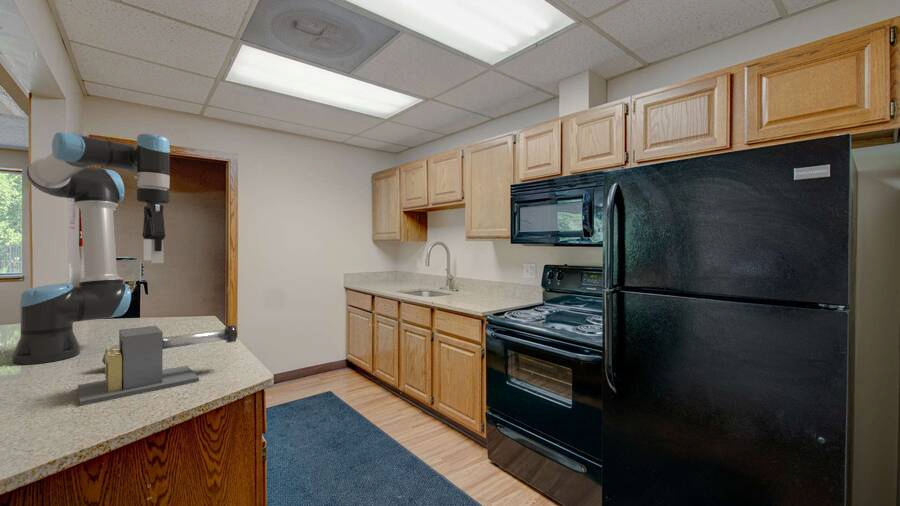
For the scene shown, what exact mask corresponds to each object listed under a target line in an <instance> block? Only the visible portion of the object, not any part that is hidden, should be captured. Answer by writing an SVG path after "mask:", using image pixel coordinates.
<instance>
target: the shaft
mask: <svg viewBox="0 0 900 506" xmlns="http://www.w3.org/2000/svg"><path fill="white" fill-rule="evenodd" d="M237 337H238V331H237V327H236V325H235V324H233V325H226V326H225V328H224V329H219V330H210V331H202V332H195V333H187V334H180V335H171V336H165V337H164V336H163V350H166V349H173V348H179V347H187V346H193V345H194V346H195V345H201V344H206V343H214V342H221V341H225V342H226V343H227V344H230V343H231V344H232V343H235V342H237Z"/></svg>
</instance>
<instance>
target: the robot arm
mask: <svg viewBox="0 0 900 506" xmlns="http://www.w3.org/2000/svg"><path fill="white" fill-rule="evenodd" d="M135 143H136V145H135V144H134V145H133V144H129V143H124V142H117V141H111V140H106V139H102V138H96V137H93V136H92V137H91V136H87V135H82V134H81V135H80V134H77V133H70V132H61V131H60V132H56V133H55V134H54V136H53V138H52V142H51V150H52V151H51V153H50V154H48V155H47V156H46V157H44V158H39V159H38V158H37V159H36V160H34V161H33V162H31V163H30V164H29V165H28V167H27V168H26V178H27V180H28V182H30V184H31V185H32V186H33V187H35V188H36V189H37V190H39V191H41V192H43V193H44V194H47V195H50V196H54V197H57V198H63V199H64V198H66V199H73V203H74V205H75V207H77V208H78V209H80V219H81V235H82V236H81V237H82V239H81V241H82V252H83V253H82V254H83V256H82V257H83V273H84V277H83V278H81V279H80V280H79V281H78V286H75V287H74V285H73V284H72V283H55V284H54V283H53V284H46V285H41V286H36V287H35V286H34V287H31V288H27V289H26V290H24V291H23V292H22V293H21V295H20V301H19V302H20V304H19V307H20V337H19V340H18V342H17V344H16V346H15V349H14V350H13V353H12V358H11V360H12V363H13V364H16V365H35V364H43V363H44V364H45V363H46V364H47V363H50V362H56V361H61V360H67V359H70V358H73V357H76V356H77V355H79V354H80V353H81V346H80V344H79V341H78V339H77V337H76V335H75V333H74V330H73V328H74V327H73V326H74V323H76V322H86V321H93V320H102V319H110V318H115V317H121V316H123V315H125V314H126V312H127V311H128V309H129V307H130V304H131V301H132V290H131V287H130V285H129V284H128V283H127V284H126V283H124V278H123V277H121V276H120V275H118V269H117V268H118V267H117V255H116V254H117V253H116V236H115V223H114V222H115V221H114V210H115V209H116V208H118V206H119V203H121V202H122V201H123V200H124V198H125V185H124V181H123V179H122V177H121V176H120V174H119V173H118V172H116V171H115V170H113V169H112V170H111V169H106V168H114V169H118V170H119V169H120V170H124V171H125V170H126V171H128V172H131V173H137V174H136V175H134V178H133V179H135V180H136V186H137V187H139V188H137V189H136V201H137V202H139V203H146V206H144V207H143V224H142V225H143V227H142V238H143V261H150V263H151V264H164V262H165V261H164V256H165V255H164V254H165V253H164V248H165V247H164V243H165V242H164V239H165V238H166V231H165V221H164V220H165V219H164V205H165V204H169V203H170V192H169V189H170V185H171V183H170V182H171V180H170V179H171V177H170V160H171V159H170V158H171V157H170V155H171V154H170V153H171V150H170V148H171V147H170V141H169V139H168V138H167V137H165V136H164V135H163V136H162V135H159V134H154V133H153V134H152V133H140V134H138V135H137V137H136V142H135ZM91 165H92V166H91ZM93 166H98V167H93ZM99 166H100V167H99ZM102 167H104V168H102ZM105 167H106V168H105Z"/></svg>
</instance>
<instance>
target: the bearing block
mask: <svg viewBox="0 0 900 506" xmlns="http://www.w3.org/2000/svg"><path fill="white" fill-rule="evenodd" d="M163 337H164V336H163V331H162V330H161V329H160V327H158V325H149V326H140V327H131V328H122V329H119V330H118V342H119V343H118V345H119V351H120V353H121V355H122V388H123V390H128V389H133V388H138V387H143V386H148V385H153V384H158V383H162V370H163V350H164V349H163Z"/></svg>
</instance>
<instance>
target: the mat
mask: <svg viewBox="0 0 900 506" xmlns="http://www.w3.org/2000/svg"><path fill="white" fill-rule="evenodd" d="M197 382H200V377H199V376H198V375H197V374H196V373H195V372H194V371H193V370H192V369H191V367H190V366H188V365H182V366H176V367H172V368H171V367H170V368H168V369H167V368H164V369H162V383H158V384H153V385H148V386H143V387H138V388H133V389H128V390H123V388H122V390H120V391H114V392H109V393H108V390H107V386H106V383H105V379H104V380H98V381H93V382H88V383H82V384H77V391H78V400H79V406H86V405H91V404H95V403H101V402H105V401H110V400H115V399H119V398H124V397H129V396H133V395H139V394H143V393H149V392H153V391H158V390H163V389H168V388H173V387H177V386H182V385H187V384H192V383H193V384H194V383H197Z"/></svg>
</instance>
